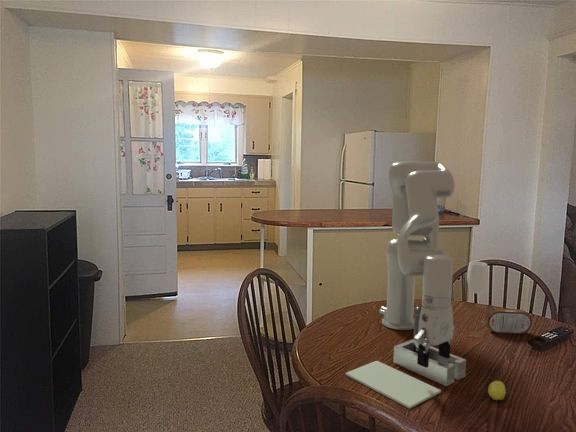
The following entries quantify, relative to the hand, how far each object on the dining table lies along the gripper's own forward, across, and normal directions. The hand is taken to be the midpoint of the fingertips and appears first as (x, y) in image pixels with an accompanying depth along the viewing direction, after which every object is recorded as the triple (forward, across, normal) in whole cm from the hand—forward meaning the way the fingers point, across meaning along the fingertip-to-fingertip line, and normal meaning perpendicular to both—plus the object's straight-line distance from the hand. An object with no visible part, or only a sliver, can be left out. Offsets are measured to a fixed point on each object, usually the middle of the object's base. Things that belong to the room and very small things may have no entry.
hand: (433, 361), depth 129 cm
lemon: (+6, +5, -16) cm, 17 cm away
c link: (+5, +4, +4) cm, 8 cm away
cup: (+4, +56, +20) cm, 60 cm away
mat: (+5, -11, +6) cm, 13 cm away
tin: (+5, +50, +4) cm, 51 cm away
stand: (+5, +4, +8) cm, 11 cm away
